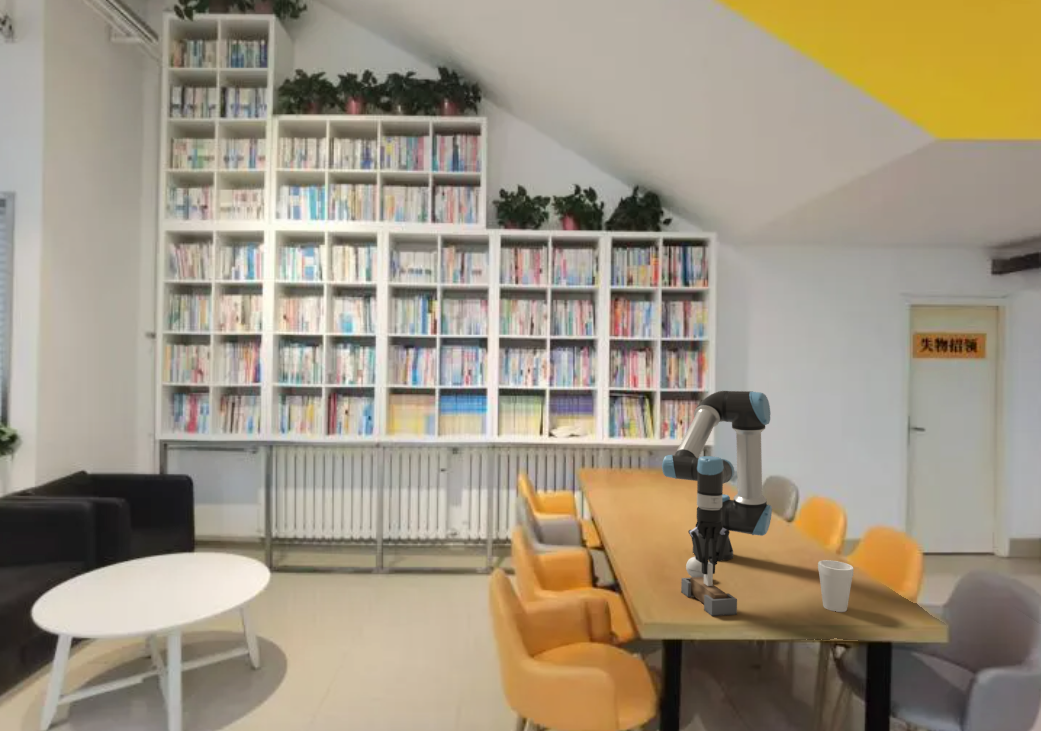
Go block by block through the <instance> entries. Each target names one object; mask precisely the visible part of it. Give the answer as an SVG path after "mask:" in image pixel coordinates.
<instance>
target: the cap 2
mask: <svg viewBox="0 0 1041 731" xmlns="http://www.w3.org/2000/svg"><path fill="white" fill-rule="evenodd" d="M726 594H727V598H724V599H713V598H711V597H710V596H708V595H704V603H703V610H704V611H705V612H706V613H707V614H708V615H710V616H711V617H718V616H719V617H721V616H733V615H735V616H736V615H737V616H738V599H737V598H736V597H735V596H733V595H732V594H730V593H726Z"/></svg>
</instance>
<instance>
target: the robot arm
mask: <svg viewBox="0 0 1041 731" xmlns="http://www.w3.org/2000/svg"><path fill="white" fill-rule="evenodd" d="M693 417H694V418H693V420H692V421H691V423H690V425H689V427H688V429H687V430H686V433H685V435H684V436H683V438H682V440H681V442H680V443H679V446H678V447H677V450H676V451H675V453H674V455H673V454H667V455H665V456H664V457H663V460H662V463H661V470H662V473H663V476H664V477H666V478H671V479H675V480H685V481H695V482H696V483H697V484H696V485H697V487H696V488H697V489H696V506H697V507H696V523H695V527H694V528H693V529H689V530H688V534H689V536H690V537H691V544H692V554H693V553H694V554H695V555H694V554H693V555H694V557H695V558H696V560H698V561H699V562H701V563H702V573H703V574H704V584H706V585H707V586H713V585H714V584H713V581H714V580H713V579H714V578H713V576H714V575H715V574H716V565H717V564H718V562H722V561H728V560H731V559H733V558H734V548H733V546H732V543H731V540H730V533H731V532H735V533H742V534H747V535H751V536H761V537H762V536H765V535H766V534H767V533H768V531H769V528H770V525H771V521H772V514H773V507H772V505H771V504H769V503H768V502H767V498H766V496H765V495H763V473H762V472H763V471H762V470H763V469H762V432H764V430H766V426H767V425H769V424H770V422H771V406H770V402H769V399H768V397H767V395H766V394H765V393H763V392H758V391H750V390H749V391H748V390H746V391H745V390H741V391H739V390H720V391H716V392H714V393H711V394H709V395H708V396H706V397H705V398H703V400H701V401H700V402H699V403H698V404H697V406H696V407H695V410H694V412H693ZM721 422H726V423H727V422H728V423H731V428H732V429H733V431H734V432H736V433H735V435H736V472H737V473H736V475H737V476H736V479H737V493H736V494H735V495H734V496H733V499H731V497H730V496H729V495H728V494H726V493H725V494H724V492H723V489H724V487H723V486H724V484H725V483H726V484H727V483H728V482H730V481H731V480H732V478H733V477H734V475H735V467H734V464H733V463H732V462H731V461H730V460H728V459H725V458H721V457H719V456H709V455H706V456H705V455H704V456H701V454H702V451H703V449H704V447H705V445H706V444H707V441H708V439H709V438H710V435H711V434H712V432H713V430H714V427H716V426H718V424H720V423H721Z"/></svg>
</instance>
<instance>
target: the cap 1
mask: <svg viewBox="0 0 1041 731" xmlns="http://www.w3.org/2000/svg"><path fill="white" fill-rule="evenodd" d="M703 578H704V577H703ZM680 583H681V585H680V586H681V587H680V588H681V589H680V590H681V591H680V593H681V594H683V595H684V596H686V597H687V598H696V597H695V596H693V595H692V594H691V577H681V582H680Z"/></svg>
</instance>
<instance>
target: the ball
mask: <svg viewBox="0 0 1041 731" xmlns="http://www.w3.org/2000/svg"><path fill="white" fill-rule="evenodd" d="M685 568H686V569H685V570H686V572H687V574H688V575H689V576H690V578H691V577H704V574H703V573H702V563H701V562H699V561H698V560H696V558H695V556H692V557H690V558H689V559H688V560H687V562H686V565H685Z"/></svg>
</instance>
